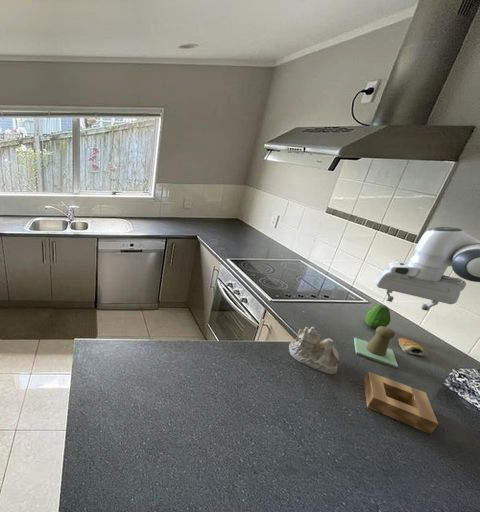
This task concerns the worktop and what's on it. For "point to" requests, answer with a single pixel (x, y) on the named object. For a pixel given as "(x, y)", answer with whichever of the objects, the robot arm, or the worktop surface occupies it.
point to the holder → (411, 413)
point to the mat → (362, 351)
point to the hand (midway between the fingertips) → (406, 305)
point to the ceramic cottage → (314, 351)
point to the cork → (380, 341)
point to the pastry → (411, 347)
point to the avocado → (378, 316)
